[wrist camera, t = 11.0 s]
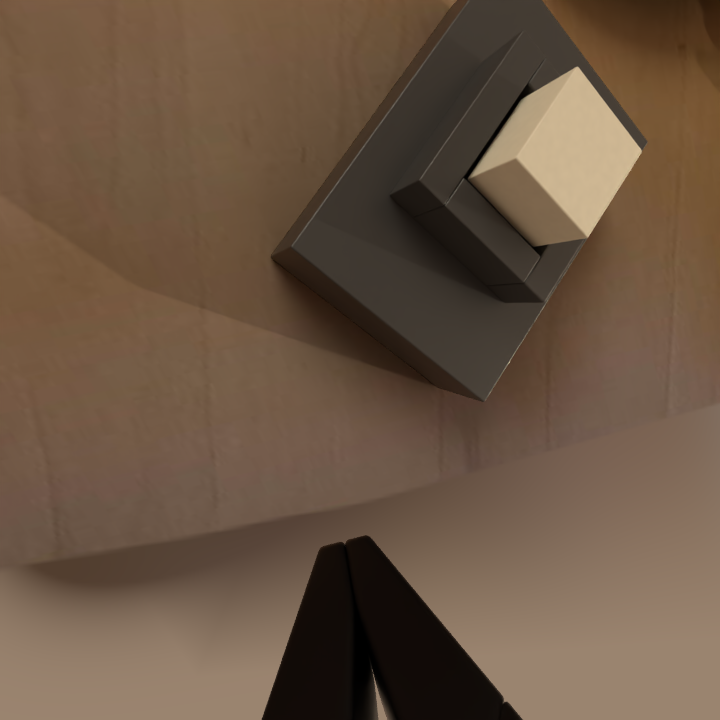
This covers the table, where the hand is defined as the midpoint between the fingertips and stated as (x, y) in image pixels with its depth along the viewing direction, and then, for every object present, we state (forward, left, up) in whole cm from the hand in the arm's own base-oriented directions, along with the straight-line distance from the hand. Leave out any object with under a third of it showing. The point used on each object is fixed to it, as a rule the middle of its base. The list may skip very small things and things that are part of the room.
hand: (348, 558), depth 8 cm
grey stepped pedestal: (+9, -9, -13) cm, 18 cm away
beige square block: (+9, -9, -7) cm, 15 cm away
